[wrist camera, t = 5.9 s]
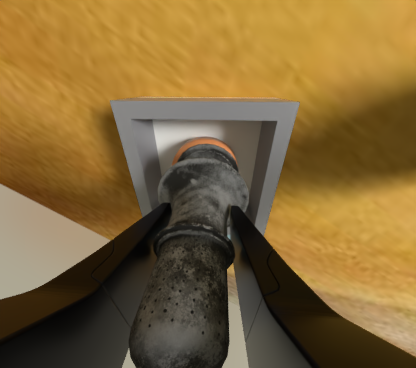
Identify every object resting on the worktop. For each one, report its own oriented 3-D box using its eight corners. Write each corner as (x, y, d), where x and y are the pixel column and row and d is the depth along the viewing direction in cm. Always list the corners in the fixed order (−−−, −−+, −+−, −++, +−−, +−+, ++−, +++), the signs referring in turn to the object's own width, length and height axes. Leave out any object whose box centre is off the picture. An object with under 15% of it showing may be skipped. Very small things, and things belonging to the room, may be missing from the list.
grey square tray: (275, 97, 13) (299, 102, 9) (254, 205, 18) (263, 236, 15) (141, 96, 13) (109, 100, 9) (161, 201, 19) (146, 230, 15)
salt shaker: (228, 209, 15) (244, 468, 5) (167, 193, 15) (41, 442, 4) (254, 152, 12) (446, 525, 2) (178, 129, 12) (-160, 463, 1)
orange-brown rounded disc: (240, 137, 13) (242, 141, 12) (234, 194, 16) (235, 201, 15) (171, 135, 13) (167, 139, 12) (177, 192, 16) (175, 199, 15)
